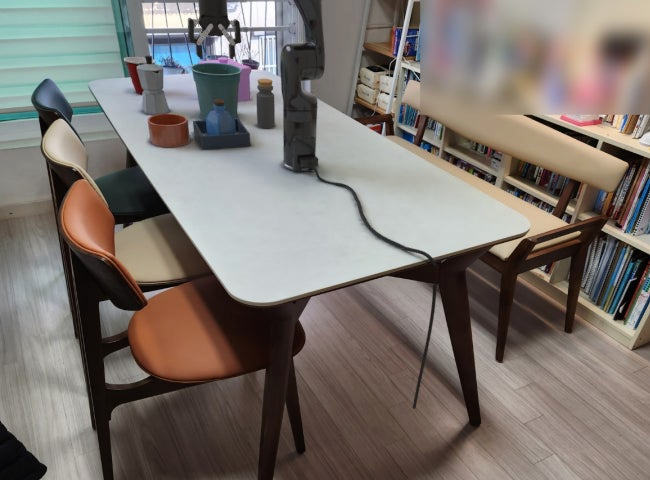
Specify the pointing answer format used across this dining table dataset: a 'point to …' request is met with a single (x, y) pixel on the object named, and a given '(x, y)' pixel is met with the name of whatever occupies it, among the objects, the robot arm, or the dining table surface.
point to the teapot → (244, 77)
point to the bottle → (265, 104)
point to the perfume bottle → (220, 120)
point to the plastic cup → (135, 71)
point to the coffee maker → (152, 88)
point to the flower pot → (216, 86)
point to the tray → (221, 136)
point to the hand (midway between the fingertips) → (216, 58)
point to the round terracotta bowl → (168, 130)
